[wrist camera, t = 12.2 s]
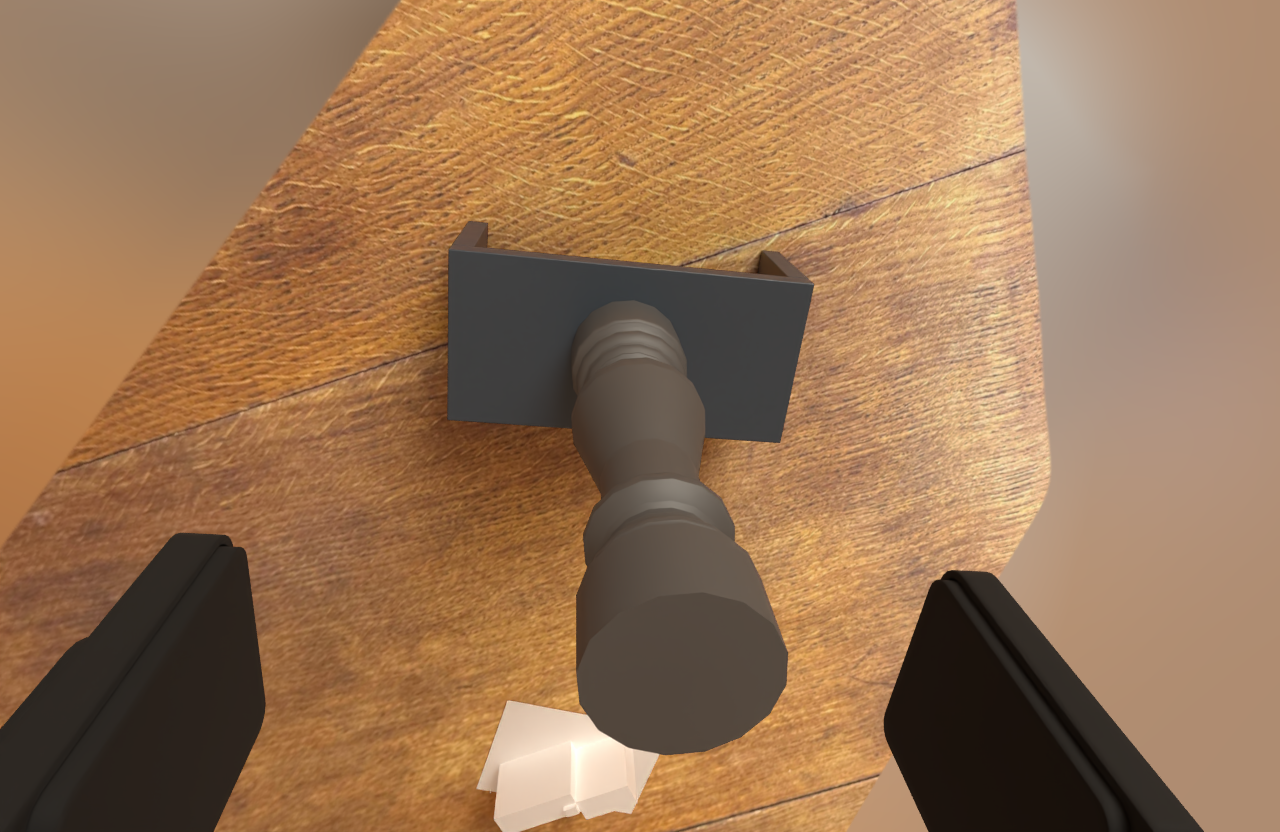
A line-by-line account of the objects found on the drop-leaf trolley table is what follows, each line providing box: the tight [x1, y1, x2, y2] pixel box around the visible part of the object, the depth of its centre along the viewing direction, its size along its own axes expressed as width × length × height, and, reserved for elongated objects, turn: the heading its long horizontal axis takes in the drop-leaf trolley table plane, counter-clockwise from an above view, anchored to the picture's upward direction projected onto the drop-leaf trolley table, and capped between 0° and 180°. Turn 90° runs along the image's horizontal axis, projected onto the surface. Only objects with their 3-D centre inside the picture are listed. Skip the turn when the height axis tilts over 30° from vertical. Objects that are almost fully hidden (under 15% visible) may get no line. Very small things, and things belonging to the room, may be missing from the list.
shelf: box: [447, 221, 814, 443], centre depth 46 cm, size 20×10×8 cm, turn 83°
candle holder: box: [571, 300, 788, 755], centre depth 31 cm, size 6×6×25 cm
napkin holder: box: [477, 700, 659, 832], centre depth 64 cm, size 15×11×6 cm
